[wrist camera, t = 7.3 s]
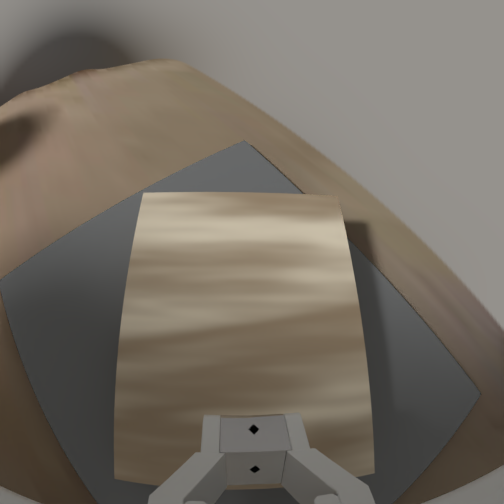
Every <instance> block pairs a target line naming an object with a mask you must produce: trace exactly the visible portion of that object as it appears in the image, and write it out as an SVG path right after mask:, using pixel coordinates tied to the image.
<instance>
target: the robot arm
mask: <svg viewBox="0 0 504 504" xmlns="http://www.w3.org/2000/svg"><path fill="white" fill-rule="evenodd" d="M279 483H281V485H282V486H283V487H284V488H285V489H286V490H287V491H288V492H289V493H290V494H291V495H292V496H293V497H294V498H295V499H296V500H297V501H298V502H299V503H300V504H375V501H374V499H373V496H372V494H371V491H370V489H369V486H368V485H367V484H365V483H364V482H362V481H361V480H359V479H358V478H356V477H355V476H353V475H352V474H350V473H349V472H347V471H346V470H344V469H343V468H342V467H340V466H339V465H337V464H336V463H335V462H333V461H332V460H330V459H329V458H328V457H326V456H325V455H324V454H322V453H321V452H319V451H318V450H317V449H315V448H311V449H310V446H309V442H308V439H307V435H306V431H305V428H304V424H303V421H302V417H301V414H300V413H299V412H298V413H285V414H270V415H221V416H220V415H204V417H203V427H202V439H201V452H195V453H194V454H193V455H192V456H191V457H190V458H189V459H188V460H187V461H186V462H185V463H184V464H183V465H182V466H181V467H180V468H179V469H178V470H177V471H176V472H175V473H174V474H172V475H171V476H170V477H169V478H168V479H167V480H166V481H165V482H164V483H163V484H162V485H161V486H159V487H158V488H157V489H156V490H155V491H154V492H153V493H152V494H150V495H149V500H148V504H215V502H216V501H217V500H218V498H219V497H220V496H221V494H222V493H223V492H224V490H225V489H226V487H227V485H252V484H279ZM0 504H42V503H39V502H37V501H34V500H32V499H29V498H27V497H24V496H22V495H19V494H17V493H15V492H13V491H10V490H8V489H6V488H4V487H2V486H0ZM421 504H504V465H502V466H500V467H499V468H497V469H495V470H493V471H492V472H490V473H488V474H486V475H484V476H482V477H480V478H478V479H476V480H474V481H472V482H470V483H468V484H466V485H464V486H462V487H460V488H458V489H455V490H453V491H451V492H449V493H446V494H444V495H441V496H439V497H437V498H434V499H432V500H429V501H426V502H424V503H421Z"/></svg>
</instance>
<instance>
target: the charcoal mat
mask: <svg viewBox="0 0 504 504" xmlns="http://www.w3.org/2000/svg"><path fill="white" fill-rule="evenodd" d="M155 192H253V193H288V194H303V193H302V192H301V191H300V190H299V189H298V188H296V187H295V186H294V185H293V184H292V183H291V182H290V181H289V180H288V179H287V178H286V177H285V176H284V175H283V174H282V173H280V172H279V171H278V170H277V169H276V168H275V167H274V166H273V165H272V164H271V163H270V162H268V161H267V160H266V159H265V158H264V157H263V156H262V155H261V154H260V153H258V152H257V151H256V150H255V149H254V148H253V147H252V146H251V145H249V144H248V143H247V142H246V141H245V140H244V141H242V142H240V143H237V144H235V145H233V146H231V147H228V148H226V149H224V150H222V151H220V152H217V153H215V154H213V155H211V156H209V157H207V158H205V159H202V160H200V161H198V162H196V163H194V164H192V165H190V166H188V167H186V168H184V169H182V170H180V171H178V172H176V173H174V174H172V175H170V176H168V177H166V178H164V179H162V180H160V181H158V182H156V183H154V184H153V185H151V186H149V187H147V188H145V189H143V190H141V191H139V192H138V193H136V194H134V195H132V196H130V197H129V198H127V199H125V200H123V201H121V202H120V203H118V204H116V205H114V206H113V207H111V208H109V209H107V210H106V211H104V212H102V213H101V214H99V215H97V216H96V217H94V218H92V219H91V220H89V221H87V222H86V223H84V224H82V225H81V226H79V227H77V228H76V229H74V230H73V231H71V232H69V233H68V234H66V235H65V236H63V237H62V238H60V239H58V240H57V241H55V242H54V243H52V244H51V245H49V246H48V247H46V248H45V249H43V250H42V251H40V252H39V253H37V254H36V255H34V256H33V257H31V258H30V259H29V260H27V261H26V262H24V263H23V264H21V265H20V266H19V267H17V268H16V269H14V270H13V271H12V272H10V273H9V274H7V275H6V276H5V277H3V278H2V279H1V280H0V290H1V295H2V299H3V302H4V306H5V310H6V314H7V317H8V321H9V324H10V327H11V331H12V334H13V337H14V340H15V343H16V346H17V349H18V352H19V355H20V357H21V360H22V363H23V366H24V368H25V371H26V373H27V376H28V378H29V381H30V383H31V386H32V388H33V390H34V393H35V395H36V397H37V399H38V402H39V404H40V406H41V408H42V410H43V412H44V414H45V417H46V419H47V421H48V423H49V425H50V427H51V429H52V430H53V432H54V434H55V436H56V438H57V440H58V442H59V443H60V445H61V447H62V449H63V451H64V452H65V454H66V456H67V457H68V459H69V461H70V463H71V464H72V466H73V467H74V469H75V471H76V472H77V474H78V475H79V477H80V478H81V480H82V482H83V483H84V485H85V486H86V488H87V489H88V490H89V492H90V493H91V495H92V496H93V498H94V499H95V500H96V502H97V503H98V504H148V500H149V495H150V494H152V493H153V492H154V491H155V490H156V489H157V488H158V487H159V485H150V484H143V483H136V482H130V481H124V480H118V479H115V476H114V407H115V386H116V370H117V357H118V346H119V336H120V327H121V318H122V310H123V302H124V295H125V288H126V281H127V275H128V268H129V262H130V256H131V251H132V245H133V240H134V235H135V230H136V225H137V220H138V215H139V210H140V205H141V201H142V197H143V193H155ZM347 240H348V245H349V250H350V255H351V260H352V266H353V271H354V277H355V282H356V288H357V294H358V300H359V307H360V313H361V320H362V327H363V334H364V342H365V350H366V358H367V367H368V376H369V386H370V397H371V409H372V424H373V441H374V467H375V473H373V474H369V475H364V476H359V477H356V478H358V479H359V480H361V481H362V482H364V483H365V484H367V485H368V486H369V489H370V491H371V494H372V496H373V499H374V501H375V504H393V503H394V502H395V501H396V500H397V499H398V498H399V497H400V496H401V495H402V494H403V493H404V492H405V491H406V490H407V489H408V488H409V487H410V486H411V485H412V483H413V482H414V481H415V480H416V479H417V478H418V477H419V476H420V475H421V474H422V473H423V471H424V470H425V469H426V468H427V467H428V466H429V465H430V463H431V462H432V461H433V460H434V459H435V457H436V456H437V455H438V454H439V453H440V451H441V450H442V449H443V448H444V446H445V445H446V444H447V442H448V441H449V440H450V439H451V437H452V436H453V435H454V433H455V432H456V431H457V429H458V428H459V426H460V425H461V424H462V422H463V421H464V419H465V418H466V416H467V415H468V414H469V412H470V411H471V409H472V408H473V406H474V405H475V403H476V401H477V400H478V398H479V397H480V395H481V393H480V391H479V390H478V389H477V387H476V386H475V385H474V383H473V382H472V381H471V379H470V378H469V377H468V376H467V374H466V373H465V372H464V370H463V369H462V368H461V367H460V365H459V364H458V363H457V361H456V360H455V359H454V358H453V356H452V355H451V354H450V353H449V351H448V350H447V349H446V348H445V346H444V345H443V344H442V343H441V342H440V340H439V339H438V338H437V337H436V335H435V334H434V333H433V332H432V331H431V329H430V328H429V327H428V326H427V325H426V324H425V322H424V321H423V320H422V319H421V318H420V316H419V315H418V314H417V313H416V312H415V311H414V310H413V308H412V307H411V306H410V305H409V304H408V303H407V302H406V300H405V299H404V298H403V297H402V296H401V295H400V294H399V292H398V291H397V290H396V289H395V288H394V287H393V286H392V285H391V284H390V282H389V281H388V280H387V279H386V278H385V277H384V276H383V275H382V274H381V273H380V272H379V270H378V269H377V268H376V267H375V266H374V265H373V264H372V263H371V262H370V261H369V260H368V259H367V258H366V257H365V256H364V254H363V253H362V252H361V251H360V250H359V249H358V248H357V247H356V246H355V245H354V244H353V243H352V242H351V241H350V240H349V239H348V238H347ZM215 504H300V503H299V502H298V501H297V500H296V499H295V498H294V497H293V496H292V495H291V494H290V493H289V492H288V491H287V490H286V489H285V488H284V487H282V488H268V489H241V490H224V492H223V493H222V494H221V496H220V497H219V498H218V500H217V501H216V502H215Z"/></svg>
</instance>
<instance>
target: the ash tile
mask: <svg viewBox="0 0 504 504" xmlns="http://www.w3.org/2000/svg"><path fill="white" fill-rule="evenodd" d="M298 412H299V413H300V414H301V417H302V421H303V424H304V428H305V431H306V435H307V439H308V442H309V446H310V449H311V448H315V449H317V450H318V451H319V452H321V453H322V454H324V455H325V456H326V457H328V458H329V459H330V460H332V461H333V462H335V463H336V464H337V465H339V466H340V467H342V468H343V469H344V470H346V471H347V472H349V473H350V474H352V475H353V476H355V477H359V476H364V475H369V474H373V473H375V467H374V441H373V424H372V409H371V397H370V386H369V376H368V367H367V358H366V350H365V342H364V334H363V327H362V320H361V313H360V307H359V300H358V294H357V288H356V282H355V277H354V271H353V266H352V260H351V255H350V250H349V245H348V240H347V235H346V230H345V226H344V221H343V216H342V212H341V208H340V203H339V199H338V196H332V195H312V194H288V193H253V192H155V193H143V197H142V201H141V205H140V210H139V215H138V220H137V225H136V230H135V235H134V240H133V245H132V251H131V256H130V262H129V268H128V275H127V281H126V288H125V295H124V302H123V310H122V318H121V327H120V336H119V346H118V357H117V370H116V386H115V407H114V476H115V479H118V480H124V481H130V482H136V483H143V484H150V485H159V486H161V485H162V484H163V483H164V482H165V481H166V480H167V479H168V478H169V477H170V476H171V475H172V474H174V473H175V472H176V471H177V470H178V469H179V468H180V467H181V466H182V465H183V464H184V463H185V462H186V461H187V460H188V459H189V458H190V457H191V456H192V455H193V454H194V453H195V452H201V439H202V427H203V417H204V415H220V416H221V415H270V414H285V413H298ZM282 487H283V486H282V485H281V483H279V484H252V485H227V487H226V489H225V490H241V489H268V488H282Z"/></svg>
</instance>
